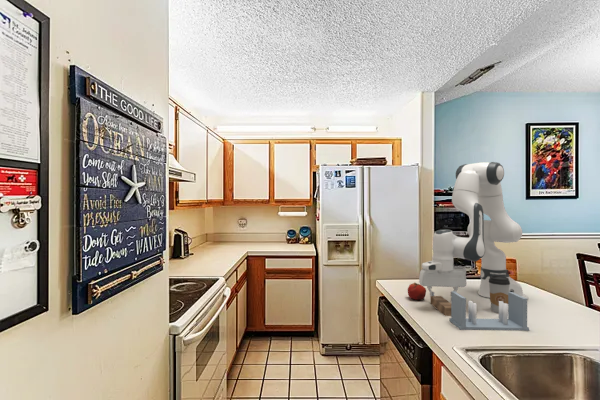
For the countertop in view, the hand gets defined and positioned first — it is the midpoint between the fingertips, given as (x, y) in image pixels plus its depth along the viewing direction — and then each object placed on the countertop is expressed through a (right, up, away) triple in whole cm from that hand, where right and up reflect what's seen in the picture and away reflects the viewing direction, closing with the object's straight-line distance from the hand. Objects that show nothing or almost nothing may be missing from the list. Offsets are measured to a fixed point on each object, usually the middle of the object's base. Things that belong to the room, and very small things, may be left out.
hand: (442, 296), depth 158 cm
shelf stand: (+10, -6, -20) cm, 23 cm away
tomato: (-6, -6, +17) cm, 19 cm away
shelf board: (0, -6, 0) cm, 6 cm away
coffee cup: (+24, -6, -2) cm, 25 cm away
